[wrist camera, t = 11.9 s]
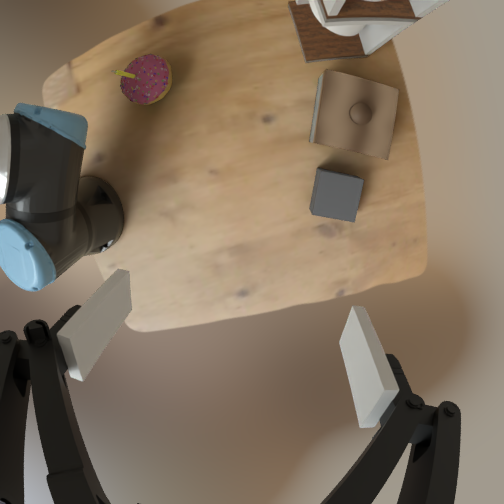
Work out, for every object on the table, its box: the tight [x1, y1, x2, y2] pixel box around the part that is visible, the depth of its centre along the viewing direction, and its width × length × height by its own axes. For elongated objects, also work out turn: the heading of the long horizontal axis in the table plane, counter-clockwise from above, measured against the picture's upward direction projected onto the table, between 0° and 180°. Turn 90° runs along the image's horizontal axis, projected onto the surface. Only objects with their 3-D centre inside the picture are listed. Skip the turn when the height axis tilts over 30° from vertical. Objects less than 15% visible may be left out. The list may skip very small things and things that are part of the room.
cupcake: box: [112, 54, 172, 105], centre depth 37 cm, size 9×8×12 cm
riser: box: [309, 168, 364, 222], centre depth 46 cm, size 7×7×4 cm
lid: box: [313, 69, 399, 160], centre depth 36 cm, size 11×11×4 cm
